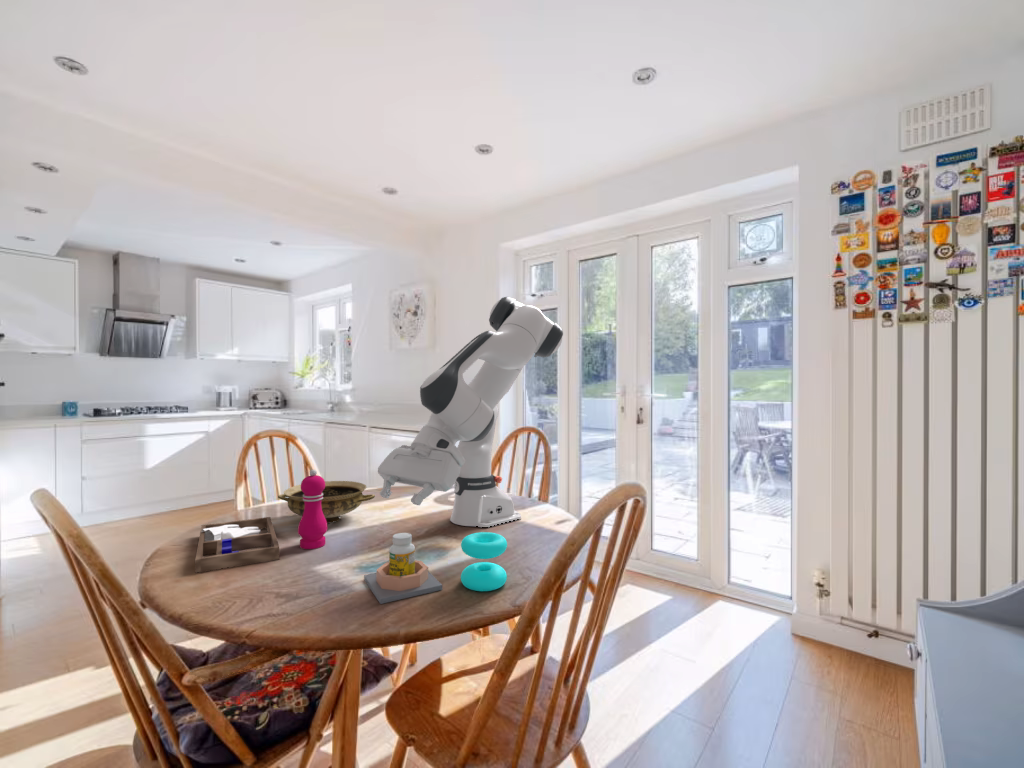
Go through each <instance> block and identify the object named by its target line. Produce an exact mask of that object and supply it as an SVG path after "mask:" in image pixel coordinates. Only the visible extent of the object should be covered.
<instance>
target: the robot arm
mask: <svg viewBox="0 0 1024 768" xmlns="http://www.w3.org/2000/svg"><path fill="white" fill-rule="evenodd" d="M489 312H490V313H489V318H488V321H489V325H490V327H492V328H493V330H495V331H493V330H488V329H487V330H486V331H484V332H483V331H482V332H481V333H480V334H478V335H477V336H474V338H472V339H471V340H470V341H469V342H468V343H467V344H465V345H464V346H463V347H462V348H461V349H460V350H459V351H457V353H455V355H453V356H452V357H451V358H450V359H449V360H448V361H447V362H446V363H445V364H443V365H442V366H441V367H440V368H438V370H436V371H434V372H433V373H431V374H430V375H429V376H428V377H427V378H425V380H424V381H423V383H422V384H421V385H420V388H419V389H420V390H419V398H420V403H421V405H422V406H423V407H424V408H426V409H427V410H429V411H430V412H431V414H430V416H429V419H428V421H427V422H426V424H425V425H423V426H422V427H421V429H420V430H419V432H418V433H417V435H416V436H415V438H414V439H413V441H412V442H411V444H410V445H406V444H403V445H401V446H399V447H396V448H394V449H393V450H391V451H390V452H389V454H388V455H387V456H386V457H385V458H384V459H383V461H382V462H381V463H380V464H379V466H378V468H377V473H378V474H379V476H380V477H381V478H382V479H383V485H382V488H381V490H380V492H379V495H380V497H381V498H385V499H389V498H390V496H391V495H392V494H393V492H392V490H391V489H392V486H395V483H398V484H403V485H408V486H414V487H418V488H421V490H420V491H418V492H417V493H413V494H412V497H411V499H410V502H411V503H412V505H416V506H421V504H422V503H423V500H424V499H427V498H428V497H429V496H430V495H432V494H433V493H434V491H440V492H443V493H444V492H448V491H449V490H451V489H452V488H453V490H454V500H453V501H454V502H453V506H452V507H453V508H452V512H451V516H450V518H449V521H450V522H451V523H453V524H455V525H459V526H465V527H476V526H478V528H482V527H488V528H491V527H490V526H492V527H495V526H498V525H497V524H499V525H502V524H501V523H503V524H506V523H505V522H507V523H510V522H509V521H511V522H514V521H513V520H515V521H518V520H517V519H519V520H521V519H522V515H521V513H520V512H519V511H517V510H515V506H514V502H513V499H512V497H511V496H510V495H509V494H507V493H506V492H504V490H502V489H501V488H500V487H498V486H497V484H501V483H502V482H503V478H502V477H501V476H499V475H494V474H492V450H493V449H492V448H493V443H494V437H495V430H496V423H497V419H498V417H499V407H498V404H499V402H500V401H502V399H503V398H504V397H505V395H507V394H508V392H509V391H510V389H511V387H512V386H513V384H514V383H515V382H516V380H517V379H518V377H519V375H520V373H521V371H522V370H523V368H524V367H525V366H526V365H528V363H529V361H530V360H531V359H532V358H537V357H540V358H548V357H551V355H554V354H555V353H556V352H557V350H559V348H560V346H561V344H562V342H563V336H564V331H563V328H562V327H561V326H560V325H559V324H557V322H553V321H552V320H551V319H549V318H548V317H547V316H546V315H544V313H543V312H542V311H541V310H540V309H539V308H538V307H536V306H533V305H530V304H524V303H522V302H519V301H517V299H515V298H513V297H509V296H503V297H501V298H500V299H499V300H498V301H496V302H495V303H494V304H493V306H492V307H491V309H490V311H489ZM477 360H482V361H484V362H483V363H482V365H481V367H480V369H479V370H478V372H477V373H476V375H475V376H474V377H473V378H472V380H470V382H469V383H467V382H465V380H464V376H463V374H464V373H465V372H466V371H467V370H469V368H470V367H472V366H473V365H474V363H476V362H477ZM457 442H459V443H458V445H457V446H456V444H457ZM520 518H521V519H520ZM494 525H495V526H494Z"/></svg>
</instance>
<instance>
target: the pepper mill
mask: <svg viewBox="0 0 1024 768" xmlns="http://www.w3.org/2000/svg"><path fill="white" fill-rule="evenodd" d="M300 484H301V490H302V492H303V493H304V495H303V501H304V503H305V507H304V513H303V516H301V519H299V520H300V521H299V522H298V527H297V534H298V535H299V536H300V537H301V538H300V539H299V548H300V549H304V550H314V549H315V550H316V549H320V548H322V547H324V546H325V545H326V536H324V535H325V534H326V533H327V531H328V523H327V522H326V519H325V517H324V514H323V512H322V507H321V501H322V499H323V493H322V491H323V490H324V488H325V479H324V478H323V477H322V476H320V475H318V471H317V470H316V469H311V470H310V471H309V475H308V476H306V477H304V478H303V479H302V481H301V482H300Z"/></svg>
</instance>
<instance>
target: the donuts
mask: <svg viewBox="0 0 1024 768" xmlns="http://www.w3.org/2000/svg"><path fill="white" fill-rule="evenodd" d="M507 548H508V541H507V539H506V538H505V537H504V536H503V535H501V534H499V533H497V532H496V533H495V532H492V531H490V532H489V531H480V532H474V533H471V534H470V533H469V534H468V535H466V536H464V537H463V538H462V540H461V542H460V549H461V550H462V552H463V553H464V554H465V555H467V556H468V557H471V558H473V559H478V560H490V559H495V558H497V557H499V556H501V555H502V554H504V553H505V552H506V550H507ZM460 580H461V583H462V585H463V586H464V587H465V588H467V589H469V590H471V591H477V592H491V591H495V590H497V589H498V590H499V589H500V588H502V587H503V586H504V585H505V584H506V582H507V580H508V575H507V572H506V570H505V569H504V567H502V566H501V565H499V564H498V563H493V562H490V561H479V562H474V563H472V564H469V565H467V566H466V567H465V568H463V570H462V571H461V574H460Z"/></svg>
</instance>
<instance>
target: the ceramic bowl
mask: <svg viewBox="0 0 1024 768" xmlns="http://www.w3.org/2000/svg"><path fill="white" fill-rule="evenodd" d="M324 481H325V480H324ZM366 489H367V485H366V484H364V483H362V482H359V481H358V482H357V481H351V480H329V481H328V480H327V481H325V488H324V490H323V491H322V493H323V499H322V501H321V507H322V512H323V514H324V517H325V519H326V522H327V524H332V523H335V521H336V522H338V521H339V520H341V517H340V516H344V515H347V514H348V513H351V512H352V511H355V510H356V509H357V508H359V506H361V504H362V503H363V502H367V501H371V500H372V499H374V498H375V497H376V495H375V494H373V493H372V494H363V492H364V491H365V490H366ZM303 495H304V493H303V492H302V490H301V483H300V484H297V485H293V486H291V487H289V488H287V489H285V490H284V491H283V493H282V494H278V495H277V499H280V500H282V501H285V502H287V507H288V509H289V510H290V511H291V512H292V513H293V514H295V515H297V516H301V517H302V516H303V513H304V507H305V503H304V501H303Z"/></svg>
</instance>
